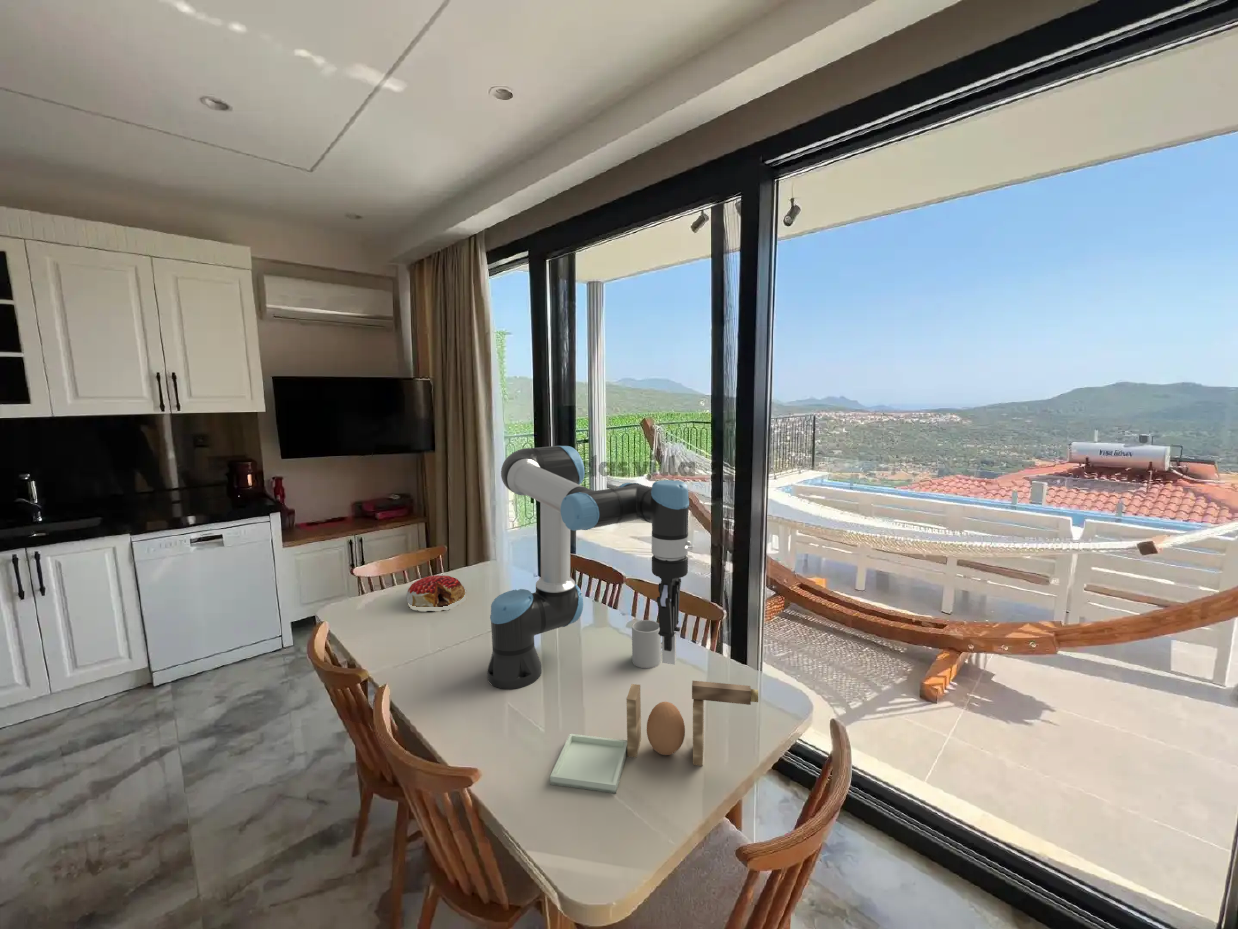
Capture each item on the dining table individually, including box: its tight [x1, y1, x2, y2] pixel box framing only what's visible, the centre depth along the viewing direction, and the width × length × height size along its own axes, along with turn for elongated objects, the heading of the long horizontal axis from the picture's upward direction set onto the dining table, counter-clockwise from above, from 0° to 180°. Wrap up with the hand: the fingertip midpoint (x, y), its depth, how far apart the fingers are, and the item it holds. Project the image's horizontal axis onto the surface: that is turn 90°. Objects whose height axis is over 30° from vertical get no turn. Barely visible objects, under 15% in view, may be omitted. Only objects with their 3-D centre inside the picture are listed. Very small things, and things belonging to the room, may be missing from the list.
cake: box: [406, 574, 466, 607], centre depth 197 cm, size 23×24×10 cm
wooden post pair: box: [626, 683, 705, 767], centre depth 109 cm, size 16×6×13 cm, turn 78°
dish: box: [549, 733, 627, 794], centre depth 106 cm, size 13×13×2 cm
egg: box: [646, 701, 686, 756], centre depth 110 cm, size 8×8×11 cm
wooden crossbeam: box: [691, 680, 759, 706], centre depth 106 cm, size 14×2×3 cm, turn 78°
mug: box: [631, 619, 662, 669], centre depth 150 cm, size 12×8×11 cm
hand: (669, 661), depth 108 cm, fingers closed
